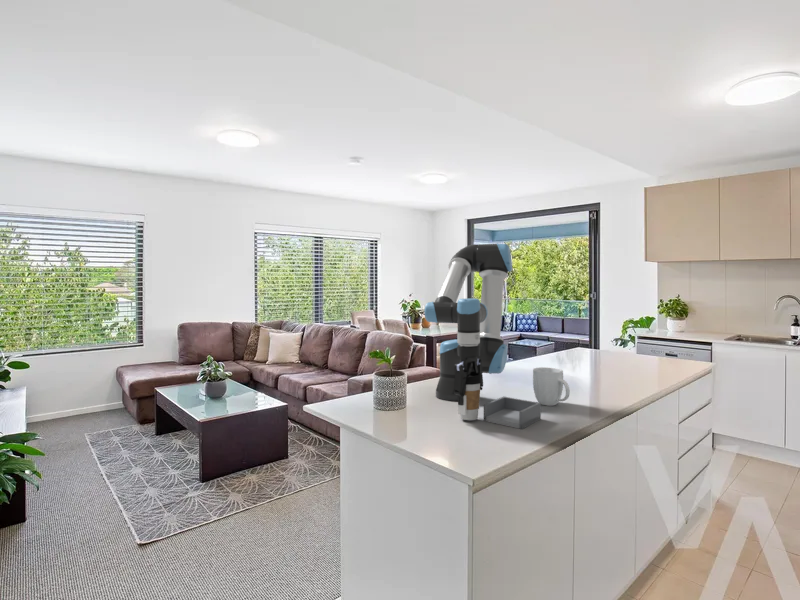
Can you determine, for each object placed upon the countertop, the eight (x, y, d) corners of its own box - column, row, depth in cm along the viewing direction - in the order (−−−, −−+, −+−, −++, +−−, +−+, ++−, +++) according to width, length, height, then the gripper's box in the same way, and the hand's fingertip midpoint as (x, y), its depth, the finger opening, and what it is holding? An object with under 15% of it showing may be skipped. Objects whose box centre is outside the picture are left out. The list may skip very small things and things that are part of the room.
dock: (483, 420, 155) (483, 404, 155) (503, 411, 166) (503, 396, 165) (522, 429, 146) (522, 412, 146) (540, 418, 156) (540, 403, 156)
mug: (577, 406, 171) (578, 372, 170) (559, 411, 165) (559, 375, 164) (545, 398, 183) (545, 366, 183) (526, 402, 177) (526, 369, 177)
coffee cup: (475, 423, 150) (475, 377, 149) (452, 419, 154) (452, 375, 153) (485, 416, 157) (485, 372, 156) (462, 412, 161) (462, 370, 161)
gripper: (461, 349, 144) (461, 421, 145) (493, 341, 159) (493, 406, 161) (442, 347, 149) (442, 416, 150) (475, 339, 164) (475, 402, 166)
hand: (469, 411), depth 156 cm, fingers closed on coffee cup, 7 cm apart
